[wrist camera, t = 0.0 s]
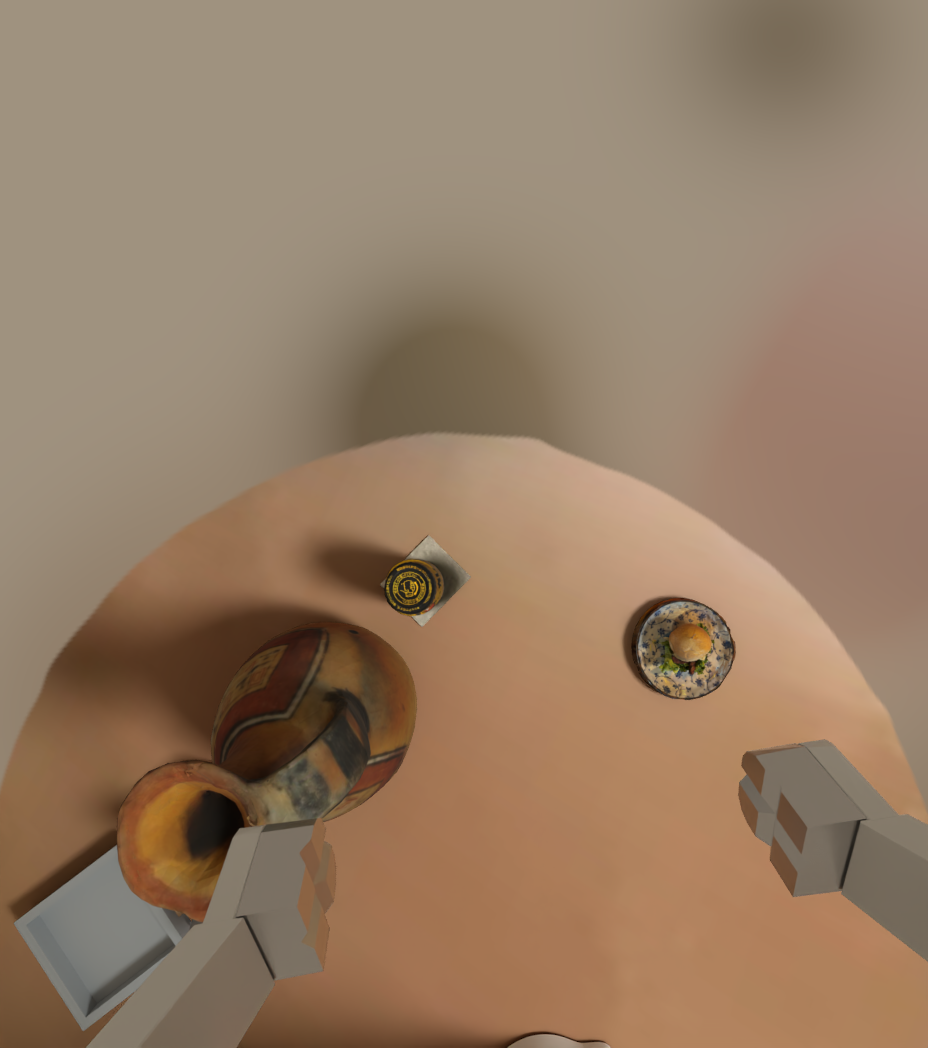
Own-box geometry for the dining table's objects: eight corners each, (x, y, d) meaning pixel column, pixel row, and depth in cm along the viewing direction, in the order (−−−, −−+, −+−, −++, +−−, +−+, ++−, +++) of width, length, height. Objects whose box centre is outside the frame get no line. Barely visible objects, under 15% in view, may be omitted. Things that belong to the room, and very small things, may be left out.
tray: (199, 934, 61) (189, 949, 59) (98, 1012, 60) (83, 1031, 58) (131, 833, 62) (118, 843, 59) (30, 909, 61) (13, 923, 59)
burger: (639, 702, 64) (662, 720, 56) (623, 605, 65) (644, 609, 57) (736, 688, 64) (772, 704, 56) (719, 591, 65) (753, 594, 57)
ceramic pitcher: (223, 672, 63) (11, 764, 34) (368, 585, 64) (287, 600, 35) (303, 818, 62) (157, 1048, 32) (450, 727, 63) (440, 869, 33)
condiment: (379, 584, 64) (361, 588, 53) (428, 535, 65) (421, 527, 53) (422, 626, 64) (413, 640, 52) (471, 577, 65) (473, 578, 53)
